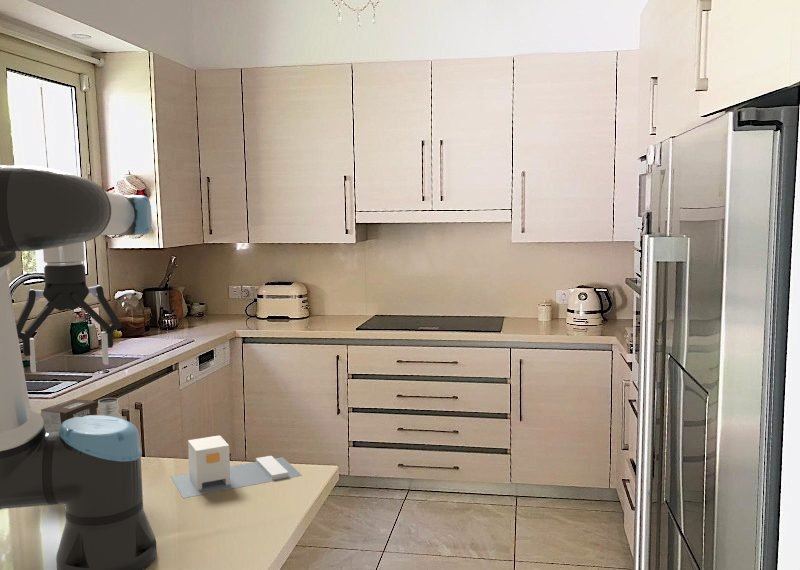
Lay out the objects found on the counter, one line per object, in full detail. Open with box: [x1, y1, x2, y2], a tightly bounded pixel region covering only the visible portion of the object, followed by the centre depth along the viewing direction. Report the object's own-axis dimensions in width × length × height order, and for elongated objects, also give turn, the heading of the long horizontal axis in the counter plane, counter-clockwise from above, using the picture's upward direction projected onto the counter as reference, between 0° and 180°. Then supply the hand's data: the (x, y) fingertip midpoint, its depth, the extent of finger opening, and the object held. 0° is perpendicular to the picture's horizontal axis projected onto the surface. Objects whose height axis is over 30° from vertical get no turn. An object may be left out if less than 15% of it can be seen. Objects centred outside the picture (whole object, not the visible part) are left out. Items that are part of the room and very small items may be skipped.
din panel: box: [170, 455, 303, 499], centre depth 153 cm, size 12×24×2 cm, turn 118°
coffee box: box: [40, 398, 98, 430], centre depth 155 cm, size 9×6×16 cm
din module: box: [187, 435, 231, 490], centre depth 150 cm, size 7×6×8 cm
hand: (70, 367), depth 152 cm, fingers open, 13 cm apart
